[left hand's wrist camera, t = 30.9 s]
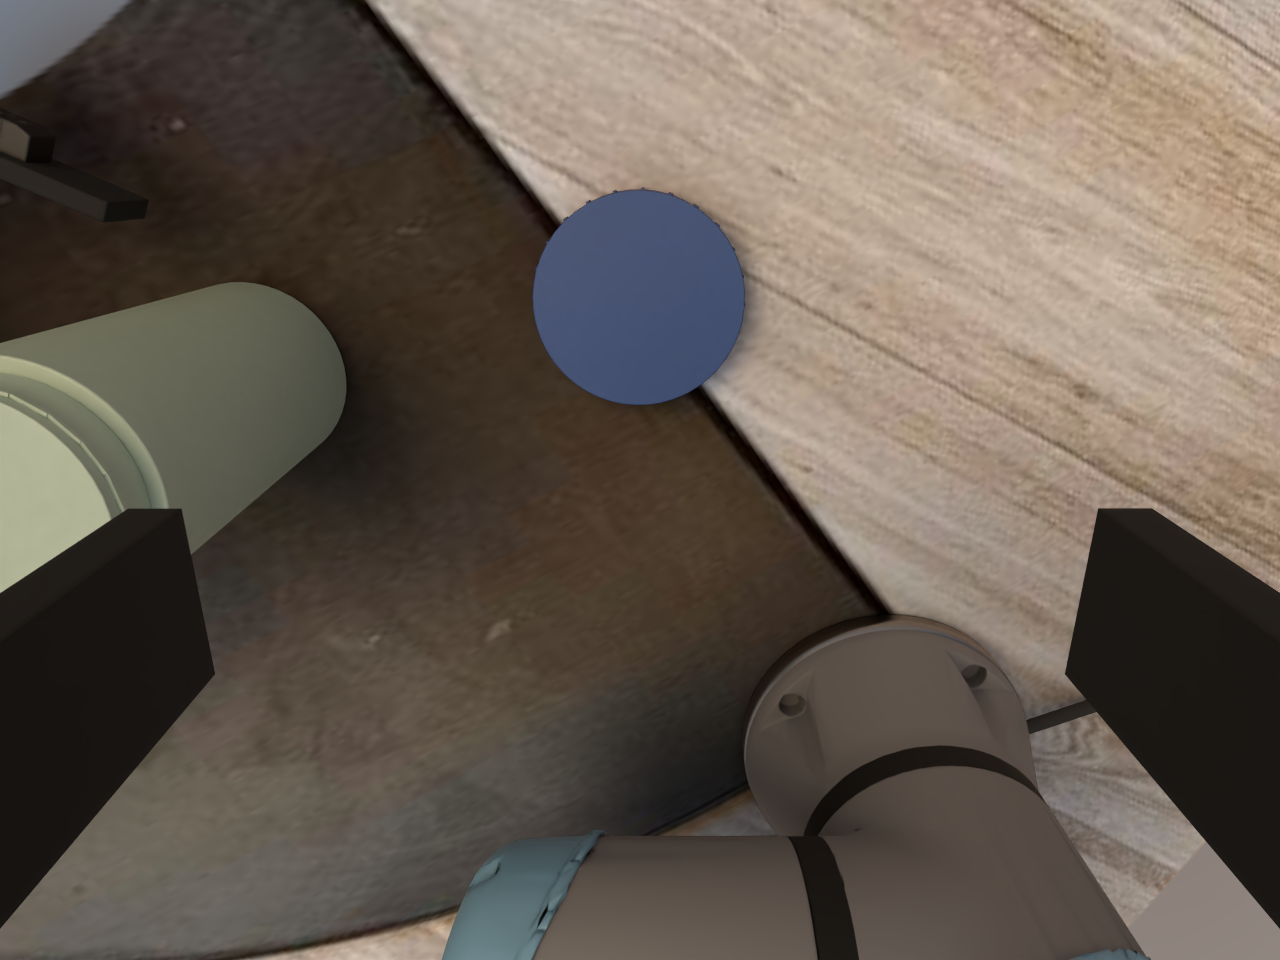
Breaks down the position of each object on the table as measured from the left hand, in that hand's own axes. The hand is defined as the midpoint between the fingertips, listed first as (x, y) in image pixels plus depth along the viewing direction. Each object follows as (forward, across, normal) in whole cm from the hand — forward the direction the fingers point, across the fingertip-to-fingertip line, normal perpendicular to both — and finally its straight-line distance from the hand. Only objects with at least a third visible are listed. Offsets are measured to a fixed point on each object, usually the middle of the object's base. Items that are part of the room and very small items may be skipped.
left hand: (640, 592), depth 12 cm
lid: (+27, 0, 0) cm, 27 cm away
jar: (+29, +18, +3) cm, 34 cm away
